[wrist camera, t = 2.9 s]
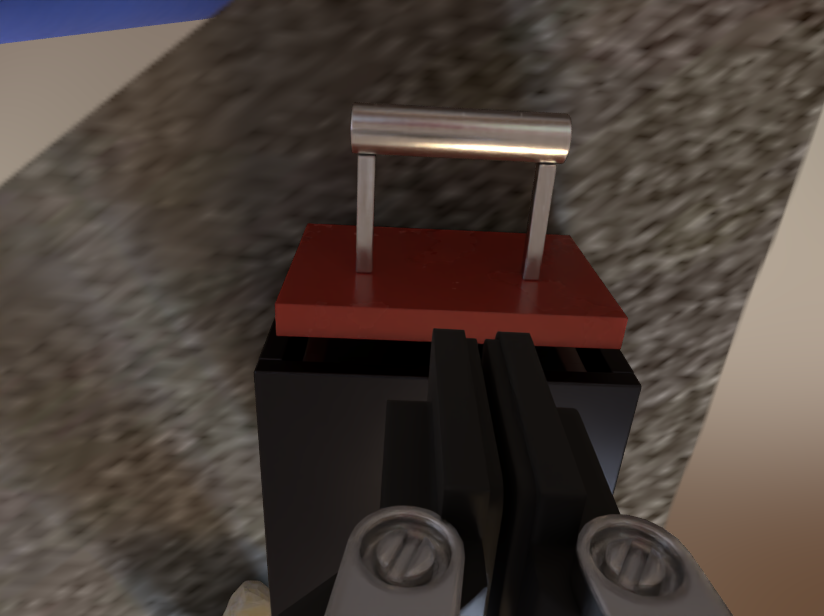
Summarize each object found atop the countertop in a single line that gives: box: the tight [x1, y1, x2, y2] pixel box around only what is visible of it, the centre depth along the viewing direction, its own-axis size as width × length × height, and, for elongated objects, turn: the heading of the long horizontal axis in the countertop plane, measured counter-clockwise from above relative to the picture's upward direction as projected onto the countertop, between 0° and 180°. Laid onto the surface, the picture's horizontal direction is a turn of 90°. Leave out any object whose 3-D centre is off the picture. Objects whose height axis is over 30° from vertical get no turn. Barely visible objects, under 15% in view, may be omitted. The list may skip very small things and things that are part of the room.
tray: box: [275, 102, 628, 372], centre depth 25 cm, size 19×11×8 cm, turn 177°
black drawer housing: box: [254, 318, 641, 616], centre depth 28 cm, size 15×13×10 cm
